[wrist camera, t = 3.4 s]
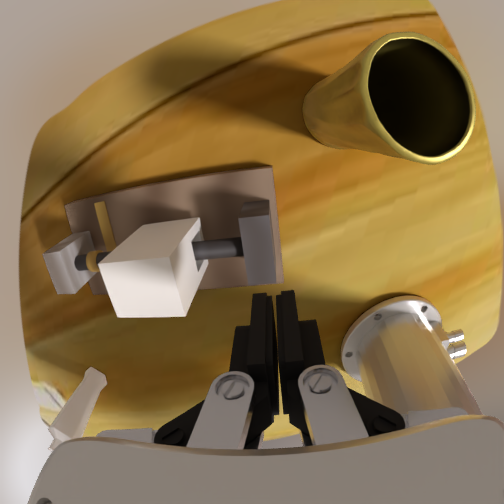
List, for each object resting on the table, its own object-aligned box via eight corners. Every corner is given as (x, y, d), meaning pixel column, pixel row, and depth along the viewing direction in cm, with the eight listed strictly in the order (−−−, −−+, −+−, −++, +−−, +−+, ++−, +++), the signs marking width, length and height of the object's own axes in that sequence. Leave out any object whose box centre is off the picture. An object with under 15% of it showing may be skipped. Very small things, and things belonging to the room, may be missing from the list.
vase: (311, 68, 19) (363, -4, 6) (380, 92, 20) (491, 68, 7) (294, 136, 22) (329, 144, 9) (364, 158, 22) (465, 198, 9)
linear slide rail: (271, 165, 23) (272, 177, 17) (283, 275, 27) (286, 316, 21) (72, 201, 25) (32, 221, 19) (99, 287, 29) (69, 321, 23)
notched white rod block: (199, 217, 22) (169, 257, 16) (208, 263, 24) (185, 316, 17) (143, 224, 23) (97, 263, 16) (154, 268, 25) (117, 317, 18)
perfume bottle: (115, 385, 36) (77, 465, 22) (98, 387, 37) (60, 460, 23) (96, 363, 34) (50, 443, 21) (79, 366, 35) (35, 440, 22)
